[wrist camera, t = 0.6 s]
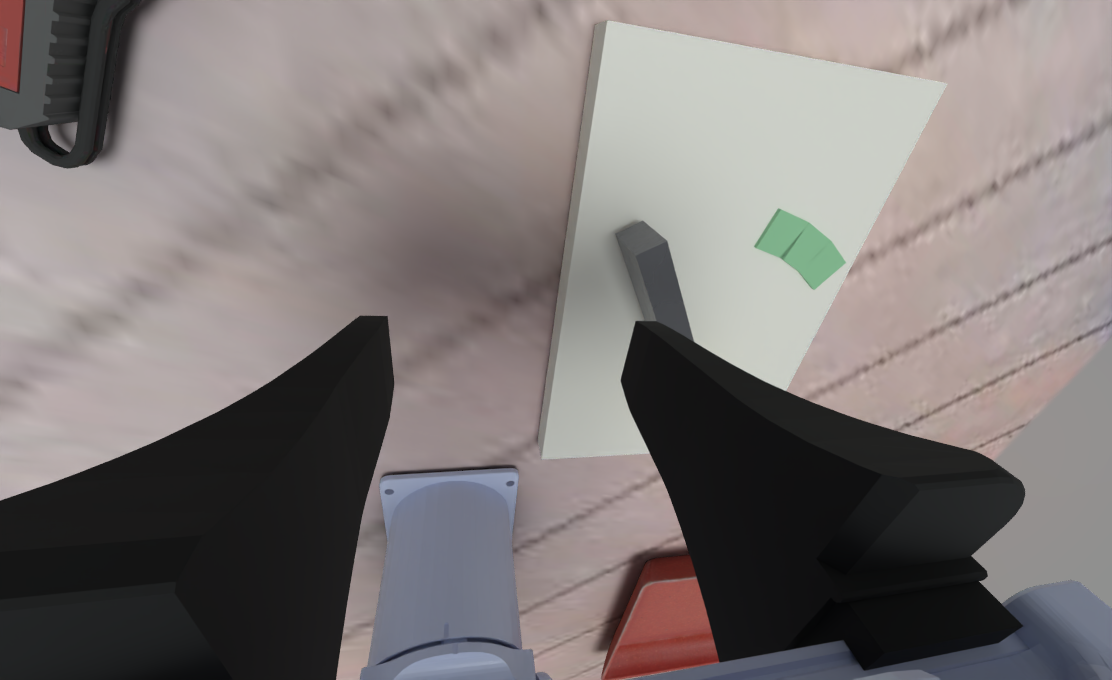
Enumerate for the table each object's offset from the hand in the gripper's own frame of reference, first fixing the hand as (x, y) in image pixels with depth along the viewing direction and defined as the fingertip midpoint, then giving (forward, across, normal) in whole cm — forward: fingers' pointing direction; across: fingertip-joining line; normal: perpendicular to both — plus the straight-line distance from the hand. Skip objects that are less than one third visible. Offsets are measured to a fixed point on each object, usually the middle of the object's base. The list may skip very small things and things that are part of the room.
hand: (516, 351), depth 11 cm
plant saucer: (+9, -21, +34) cm, 41 cm away
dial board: (+8, -10, +2) cm, 13 cm away
